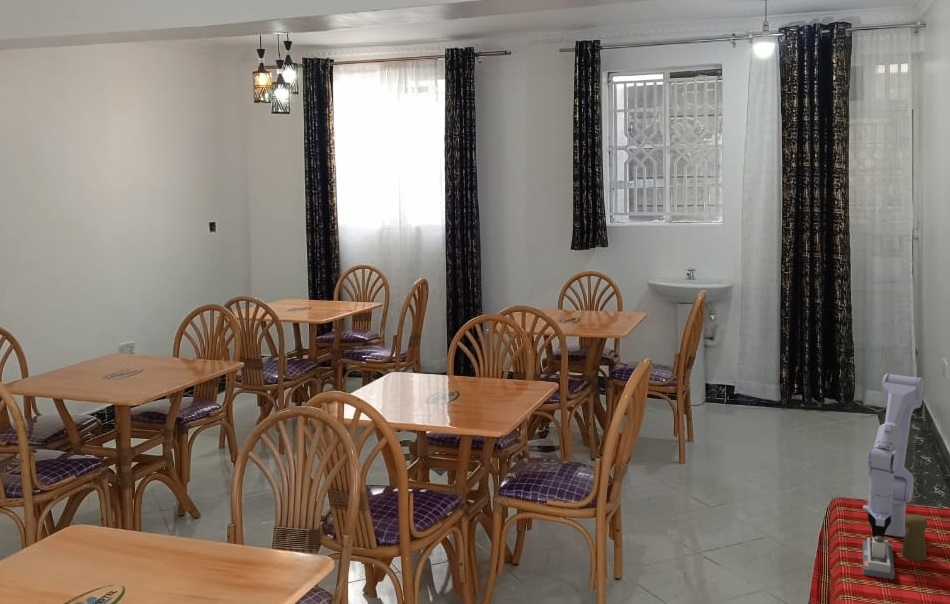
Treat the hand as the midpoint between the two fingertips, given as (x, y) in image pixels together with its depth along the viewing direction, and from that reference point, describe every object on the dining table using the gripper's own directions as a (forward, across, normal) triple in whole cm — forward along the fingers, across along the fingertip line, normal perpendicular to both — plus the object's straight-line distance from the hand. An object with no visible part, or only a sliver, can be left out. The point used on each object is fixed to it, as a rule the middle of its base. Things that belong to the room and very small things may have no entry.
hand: (877, 541), depth 229 cm
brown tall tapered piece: (+3, 0, +9) cm, 9 cm away
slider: (+1, +7, 0) cm, 7 cm away
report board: (+2, +8, 0) cm, 8 cm away
